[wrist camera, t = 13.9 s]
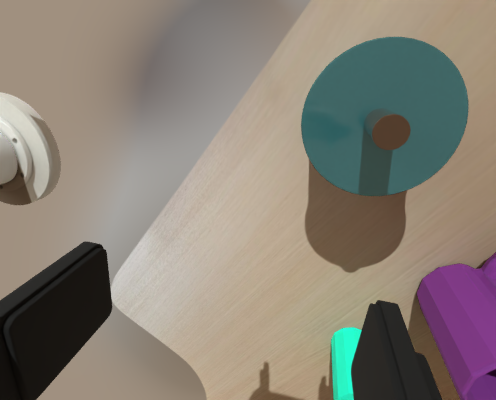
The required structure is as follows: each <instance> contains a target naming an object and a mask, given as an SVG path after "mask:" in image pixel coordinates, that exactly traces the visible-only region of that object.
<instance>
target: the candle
mask: <svg viewBox="0 0 496 400" xmlns="http://www.w3.org/2000/svg"><path fill="white" fill-rule="evenodd" d="M361 331H362V330H360V329H357V328H354V327H352V328H342V329H340V330H339V331H337V332H335V333H334V335H333V337H332V339H331V347H332V373H333V399H334V400H354V397H353V388H352V379H351V365H352V361H353V358H354V354H355V351H356V348H357V344H358V341H359V338H360V334H361Z"/></svg>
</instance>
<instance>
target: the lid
mask: <svg viewBox="0 0 496 400" xmlns="http://www.w3.org/2000/svg"><path fill="white" fill-rule="evenodd" d="M467 117H468V96H467V90H466V87H465V84H464V80H463V78H462V76H461V74H460V72H459V70H458V69H457V67H456V66H455V65H454V63H453V62H452V61H451V60H450V59H449V58H448V57H447V56H446V55H445V54H444V53H443V52H441V51H440V50H438V49H437V48H435V47H434V46H432V45H430V44H427V43H425V42H423V41H419V40H416V39H412V38H406V37H385V38H377V39H374V40H370V41H366V42H364V43H361V44H359V45H356V46H354V47H352V48H350V49H349V50H347V51H345V52H344V53H342V54H341V55H339V56H338V57H337V58H335V59H334V60H333V61H332V62H331V63H330V64H329V65H328V66H327V67H326V68H325V69H324V70H323V71H322V72H321V74H320V75H319V76H318V78H317V79H316V81H315V82H314V84H313V85H312V87H311V89H310V91H309V93H308V96H307V98H306V101H305V104H304V108H303V113H302V121H301V131H302V139H303V144H304V147H305V150H306V153H307V155H308V157H309V159H310V161H311V163H312V164H313V166H314V167H315V169H316V170H317V171H318V172H319V173H320V174H321V175H322V176H323V177H324V178H325V179H326V180H327V181H329V182H330V183H332V184H333V185H335V186H336V187H338V188H340V189H342V190H345V191H348V192H350V193H354V194H359V195H365V196H384V195H391V194H396V193H400V192H403V191H406V190H408V189H411V188H413V187H415V186H417V185H419V184H421V183H423V182H424V181H426V180H427V179H429V178H430V177H432V176H433V175H434V174H435V173H436V172H438V171H439V170H440V169H441V168H442V167H443V166H444V165H445V164H446V163H447V161H448V160H449V159H450V157H451V156H452V155H453V154H454V152H455V150H456V148H457V147H458V145H459V143H460V141H461V139H462V136H463V134H464V131H465V127H466V124H467Z"/></svg>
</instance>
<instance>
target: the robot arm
mask: <svg viewBox="0 0 496 400" xmlns="http://www.w3.org/2000/svg"><path fill="white" fill-rule="evenodd" d="M31 174H32V157H31V153H30V150H29V147H28V145H27V143H26V141H25V139H24V138H23V136H22V135H21V134H20V132H19V131H18V130H17V129H16V128H15V127H14V126H13V125H12V124H11V123H10V122H9V121H7V120H6V119H4V118H2V117H1V116H0V190H1V191H13V190H17V189H19V188H22V187H23V186H24V185H26V184H27V182H28V181H29V179H30V177H31ZM111 310H112V300H111V290H110V281H109V271H108V261H107V253H106V250H104V249H103V247H102V245H100V244H96V243H91V242H83V243H81V244H80V245H79V246H77V247H76V248H74V249H73V250H72V251H70V252H69V253H67V254H66V255H64V256H63V257H61V258H60V259H59V260H57V261H56V262H54V263H53V264H52V265H50V266H49V267H47V268H46V269H44V270H43V271H42V272H40V273H39V274H37V275H36V276H34V277H33V278H32V279H30V280H29V281H27V282H26V283H25V284H23V285H22V286H20V287H19V288H17V289H16V290H15V291H13V292H12V293H10V294H9V295H7V296H6V297H5V298H3V299H2V300H0V400H36V399H37V398H38V397H39V396H40V395H41V394H42V393H43V391H44V390H45V389H46V388H47V387H48V386H49V385H50V383H51V382H52V381H53V380H54V379H55V378H56V377H57V375H58V374H59V373H60V372H61V371H62V370H63V369H64V367H65V366H66V365H67V364H68V363H69V362H70V361H71V359H72V358H73V357H74V356H75V355H76V354H77V352H78V351H79V350H80V349H81V348H82V347H83V346H84V344H85V343H86V342H87V341H88V340H89V339H90V338H91V336H92V335H93V334H94V333H95V332H96V331H97V330H98V328H99V327H100V326H101V325H102V324H103V323H104V322H105V320H106V319H107V318H108V316H109V315H110V313H111ZM351 379H352V388H353V397H354V400H442V398H441V395H440V393H439V390H438V388H437V385H436V383H435V380H434V377H433V375H432V372H431V370H430V367H429V365H428V362H427V360H426V358H425V356H424V355H423V354H420V353H416V352H415V351H414V348H413V345H412V342H411V339H410V337H409V334H408V331H407V328H406V325H405V323H404V320H403V317H402V314H401V312H400V309H399V306H398V305H397V304H395V303H390V302H385V301H380V300H378V301H377V302H376V304H372V303H371V304H370V305H369V308H368V311H367V315H366V318H365V321H364V325H363V328H362V331H361V334H360V338H359V341H358V344H357V348H356V351H355V354H354V358H353V361H352V365H351Z"/></svg>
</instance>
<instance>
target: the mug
mask: <svg viewBox="0 0 496 400" xmlns="http://www.w3.org/2000/svg"><path fill="white" fill-rule="evenodd" d="M417 296H418V300H419V304H420V307H421V310H422V312H423V314H424V317H425V319H426V321H427V324H428V326H429V328H430V330H431V333H432V335H433V337H434V340H435V342H436V344H437V347H438V349H439V351H440V353H441V356H442V358H443V360H444V363H445V365H446V367H447V370H448V372H449V374H450V376H451V379H452V381H453V383H454V386H455V388H456V390H457V393H458V395H459V397H460V399H461V400H496V252H495V253H494V254H493V255H492V256H491V257H490V258H489V259H488V260H487V261H486V262H485V264H484V265H483V266H482V267H481V268H480V269H474V268H472V267H470V266H468V265H464V264H454V265H449V266H444V267H438V268H437V269H435V270H434V271H433V272H431V273H430V274H428V275H427V276H426V277H424V278H423V280H422V282H421V284H420V287H419V289H418V291H417Z"/></svg>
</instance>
